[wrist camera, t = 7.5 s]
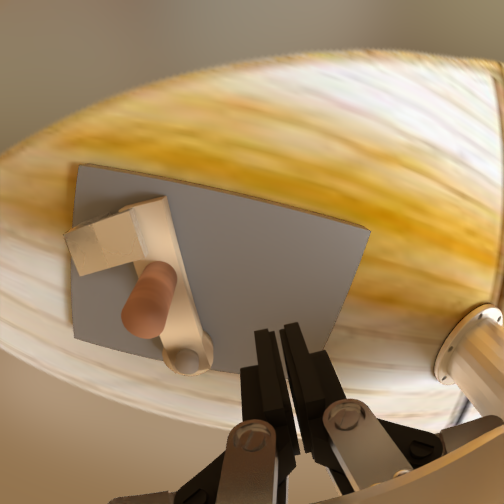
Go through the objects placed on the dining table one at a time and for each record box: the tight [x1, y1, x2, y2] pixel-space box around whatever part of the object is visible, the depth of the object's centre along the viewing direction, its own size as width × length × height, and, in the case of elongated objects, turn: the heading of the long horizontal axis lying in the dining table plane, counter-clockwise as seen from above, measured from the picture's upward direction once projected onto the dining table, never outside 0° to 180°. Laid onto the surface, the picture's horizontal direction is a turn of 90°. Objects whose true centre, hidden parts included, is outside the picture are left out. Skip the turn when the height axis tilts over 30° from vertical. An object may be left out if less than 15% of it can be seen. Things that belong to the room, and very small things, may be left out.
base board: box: [71, 164, 371, 379], centre depth 23 cm, size 22×15×2 cm
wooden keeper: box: [63, 208, 149, 276], centre depth 18 cm, size 3×5×3 cm, turn 103°
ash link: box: [119, 196, 213, 376], centre depth 18 cm, size 14×4×7 cm, turn 10°
